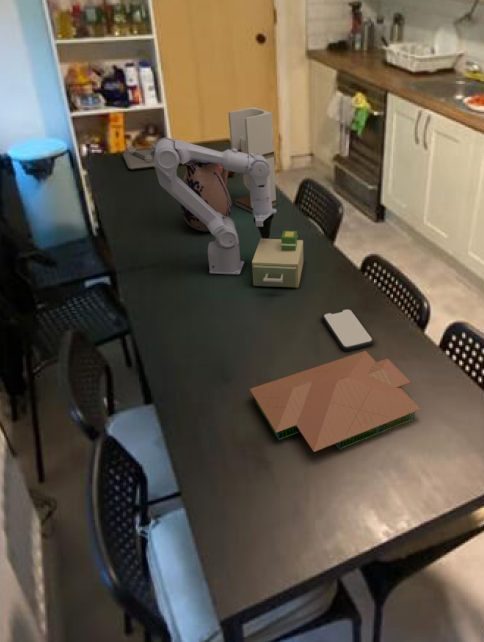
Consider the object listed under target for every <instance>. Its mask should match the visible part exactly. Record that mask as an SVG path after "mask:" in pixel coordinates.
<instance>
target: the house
mask: <svg viewBox="0 0 484 642" xmlns="http://www.w3.org/2000/svg"><path fill="white" fill-rule="evenodd" d="M410 383H411V381H410V380H409V379H408V378H407V377H406V376H405V374H403V372H401V370H399V369H398V367H396V365H394V363H393V362H392V361H391V360H390V359H388V358H385V359H382V360H378V361H376V360H375V359H374V358H373V356H371V354H369V353H368V351H366V350H363V351H360V352H356V353H354V354H351V355H348V356H344V357H341V358H339V359H336V360H333V361H330V362H327V363H324V364H321V365H318V366H315V367H312V368H308V369H306V370H302V371H300V372H296V373H294V374H291V375H288V376H284V377H282V378H278V379H275V380H273V381H269V382H266V383H263V384H260V385H256V386H254V387H251V388H249V391H250V393H251V394H252V396H253V397H254V402H255V404H256V405H257V406H258V408H259V410H260V411H261V413H262V414H263V416H264V418H265V419H266V421H267V423H268V424H269V426H270V428H271V430H272V431H273V433H274V434H275V436H276V437H277V439H278V440H283V439H285V438H287V437H290V436H293V435H295V434H298V433H300V434H301V435H302V437H303V438H304V439H305V441H306V443H307V444H308V445H309V447H310V448H311V450H312V452H313V453H315V452H318V451H320V450H323V449H326V448H328V447H331V446H333V445H335V446H336V447H337V448H338V450H341V449H343V448H346V447H348V446H351V445H353V444H356V443H358V442H361V441H363V440H365V439H368V438H370V437H373V436H375V435H378V434H380V433H383V432H386V431H388V430H390V429H393V428H396V427H397V426H400V425H402V424H405V423H408V422H410V421H413V420H414V419H415V413H416V412H418V411H421V407H420V406H418V404H417V403H416V402H415V401H414V400H413V399H412V398H411V397H410V396H409V395H408V394H407V393H406V392H405V391H404V390H403V389H402V388H401V387H402V386H403V387H404V386H405V385H408V384H410ZM407 417H410V419H408V420H407V419H404V418H407ZM401 419H402V421H401ZM403 419H404V420H405V421H404V420H403ZM398 421H399V424H398ZM395 422H396V423H395ZM392 423H393V424H392ZM388 425H389V428H386V429H383V430H382V427H385V426H386V427H388ZM391 426H392V427H391ZM294 429H295V431H294ZM291 430H292V433H290V434H289V435H288V433H287V431H291ZM374 430H375V431H374ZM370 432H375V433H373V434H372V435H371V434H369V435H368V433H370ZM284 433H285V436H282V437H281V436H280V434H284ZM365 434H366V435H365ZM361 435H362V438H361V439H359V440H358V437H360V436H361ZM364 435H365V437H364ZM280 437H281V438H280ZM355 438H356V440H354V439H355ZM348 440H349V441H350V440H352V443H348ZM354 441H355V442H354ZM344 442H345V445H343V446H342V447H341V443H344Z"/></svg>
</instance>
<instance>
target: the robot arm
mask: <svg viewBox="0 0 484 642" xmlns="http://www.w3.org/2000/svg"><path fill="white" fill-rule="evenodd" d="M154 159H155V161H154V167H155V168H154V169H155V173H156V176H157V180H158V184H159V185H160V186H161V187H162V188H163V189H164V190H165V191H166V192H167V193H168V194H169V195H171V196H172V197H173V198H174V199H175V200H176V201H177V202H179V204H180V203H181V204H182V205H183V206H184V207H186V208H187V209H188V210H189V211H190V212H191V213H192V214H194V215H195V216H196V217H197V218H198V219H199V220H200V221H201V222H203V223H204V224H205V225H206V226H207V227H208V229H209V230H210V231H209V232H210V233H211V235H212V236H213V237H214V238H215V240H214V241H209V243H208V246H207V257H208V266H209V267H208V268H209V270H208V271H209V272H208V273H209V274H211V275H214V274H216V275H234V276H235V275H237V276H238V275H240V274H241V273H242V270H243V267H244V265H245V261H244V260H241V249H240V239H239V235H238V233H237V229H236V223H235V221H234V220H233V219H232V218H231V217H225V216H223V215H222V214H221V213H219V212H216V211H215V210H214V209H213V208H211V207H210V206H209V205H208V204H207V203H206V202H205V201H204V200H203V199H202V198H201V197H199V196H198V195H197V194H196V193H195V192H194V191H193V190H192V189H191V188H190V187H188V186H187V185H186V184H185V183H184V182H183V179H181V178H180V177H179V176H178V174H177V170H178V168H179V166H180V165H179V161H181V160H182V164H181V165H186V164H185V163H187V162H188V161H190V160H192V159H193V160H199V161H205V162H210V163H216V164H221V165H222V167H223V168H224V170H228V171H233V172H235V173H238V174H242V175H243V174H250V180H251V181H250V186H251V195H252V203H253V213H252V215H253V223H254V224H255V227H256V228H257V229H258V231H259V234H260V237H261V239H270V236H271V226H272V222H273V219H274V216H275V215H276V214H277V208H274V207H273V206H272V200H271V190H270V181H269V174H270V169H269V165H268V163H267V161H266V159H265V158H264V157H263V156H262V155H260V154H258V153H254V154H253V153H250V154H246V153H242V152H238V151H237V149H235V148H232V150H231V149H230V148H229V149H225V150H224V151H219V150H215V149H212V148H208V147H205V146H201V145H197V144H195V143H190V142H188V141H184V140H181V139H175V138H174V139H172V138H170V137H161V138H159V139H158V140H157V141H156V145H155V152H154Z"/></svg>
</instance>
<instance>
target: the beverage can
mask: <svg viewBox="0 0 484 642" xmlns="http://www.w3.org/2000/svg"><path fill="white" fill-rule="evenodd" d="M218 169H219V172H220V174H221V176H222V171H223V167H222V165H221V164H218ZM235 173H236V172H233V171H228V177H232V176H234V175H235Z"/></svg>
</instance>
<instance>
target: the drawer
mask: <svg viewBox="0 0 484 642" xmlns="http://www.w3.org/2000/svg"><path fill="white" fill-rule="evenodd" d="M253 268H254V283H255V285H258V286H257V287H273V286H282V287H281V288H296V266H276V265H254V267H253Z"/></svg>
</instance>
